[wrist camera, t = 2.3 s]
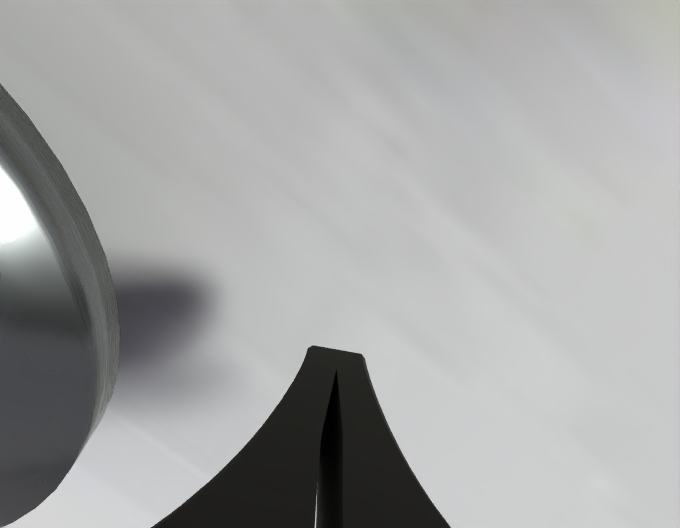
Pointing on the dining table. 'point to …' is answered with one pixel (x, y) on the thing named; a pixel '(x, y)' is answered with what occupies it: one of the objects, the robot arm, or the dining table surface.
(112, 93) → the dining table surface
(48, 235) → the cooker lid
